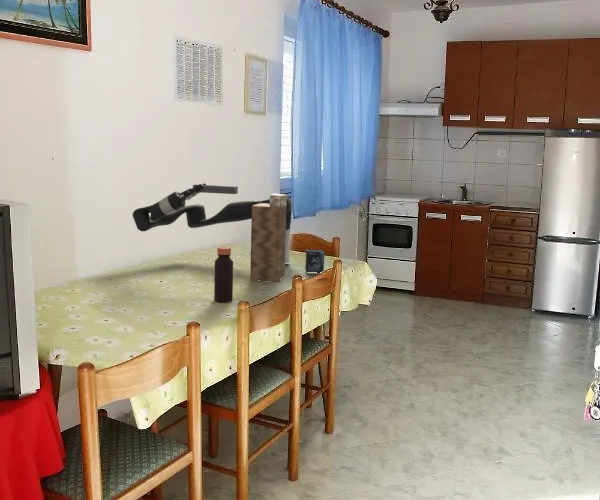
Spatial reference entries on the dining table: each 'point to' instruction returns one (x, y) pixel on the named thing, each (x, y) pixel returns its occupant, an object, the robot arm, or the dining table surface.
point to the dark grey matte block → (218, 189)
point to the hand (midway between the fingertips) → (204, 185)
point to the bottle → (223, 276)
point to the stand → (268, 239)
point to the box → (314, 261)
